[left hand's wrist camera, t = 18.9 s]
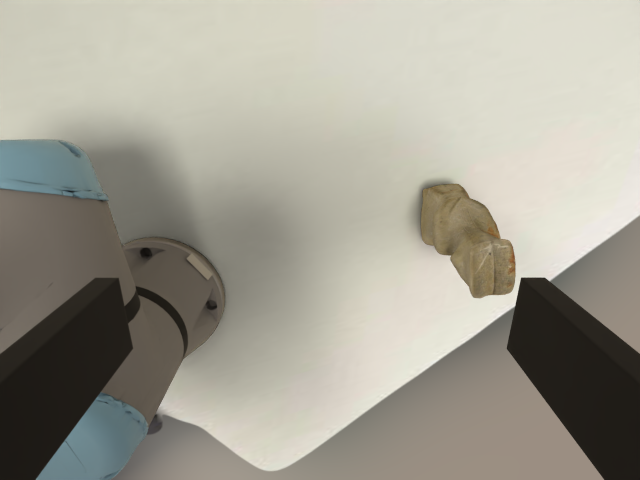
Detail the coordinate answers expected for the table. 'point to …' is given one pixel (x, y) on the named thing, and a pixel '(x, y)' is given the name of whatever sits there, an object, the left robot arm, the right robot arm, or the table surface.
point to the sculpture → (468, 239)
